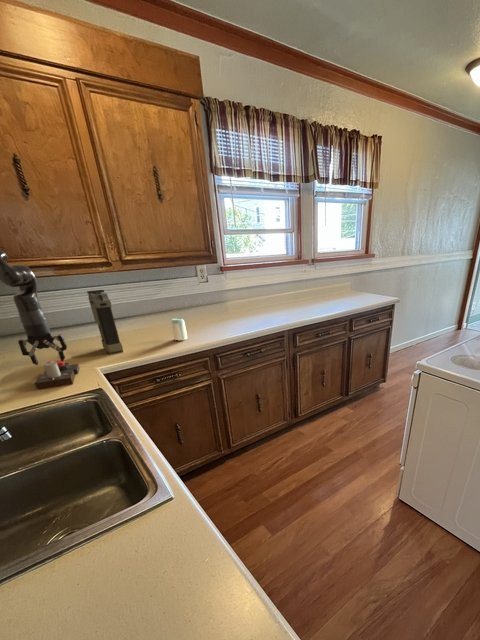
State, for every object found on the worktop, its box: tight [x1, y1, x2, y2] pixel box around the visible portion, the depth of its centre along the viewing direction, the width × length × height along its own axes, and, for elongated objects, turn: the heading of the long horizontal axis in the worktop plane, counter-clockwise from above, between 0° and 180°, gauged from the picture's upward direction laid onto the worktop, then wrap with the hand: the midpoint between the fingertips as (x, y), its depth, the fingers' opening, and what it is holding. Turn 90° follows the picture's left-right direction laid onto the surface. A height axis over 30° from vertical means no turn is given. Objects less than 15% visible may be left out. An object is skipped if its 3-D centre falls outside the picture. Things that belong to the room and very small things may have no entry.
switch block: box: [43, 361, 80, 375], centre depth 142 cm, size 12×8×4 cm, turn 118°
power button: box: [55, 360, 65, 367], centre depth 141 cm, size 4×4×2 cm
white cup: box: [42, 360, 61, 378], centre depth 131 cm, size 4×4×6 cm
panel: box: [34, 370, 76, 391], centre depth 133 cm, size 12×10×3 cm
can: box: [171, 317, 188, 342], centre depth 186 cm, size 7×7×12 cm
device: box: [86, 289, 124, 355], centre depth 165 cm, size 14×8×30 cm, turn 42°
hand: (50, 362), depth 130 cm, fingers open, 8 cm apart
